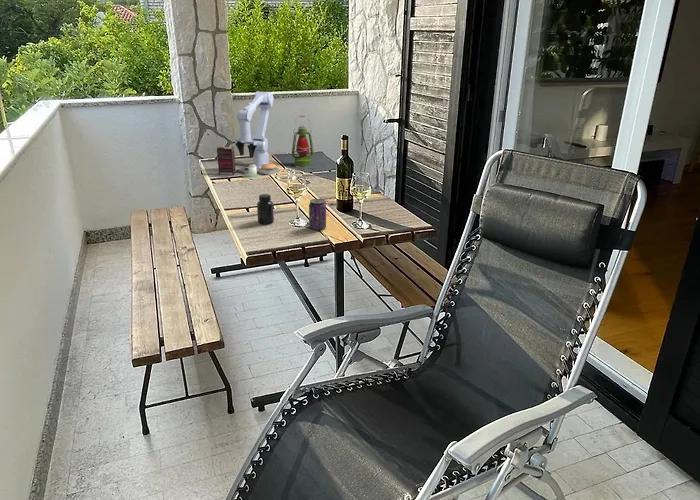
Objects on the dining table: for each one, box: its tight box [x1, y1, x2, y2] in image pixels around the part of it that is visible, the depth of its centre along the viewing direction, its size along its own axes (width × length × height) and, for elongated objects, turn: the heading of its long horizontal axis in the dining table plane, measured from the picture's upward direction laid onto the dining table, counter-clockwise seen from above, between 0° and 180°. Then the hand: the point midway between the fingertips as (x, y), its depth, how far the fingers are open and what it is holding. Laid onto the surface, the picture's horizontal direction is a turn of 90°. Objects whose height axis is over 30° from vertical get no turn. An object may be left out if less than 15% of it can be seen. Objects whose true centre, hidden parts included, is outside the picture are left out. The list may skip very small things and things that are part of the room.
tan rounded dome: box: [261, 163, 277, 169], centre depth 303 cm, size 8×8×4 cm
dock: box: [236, 167, 259, 176], centre depth 305 cm, size 10×10×2 cm
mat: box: [241, 174, 265, 181], centre depth 296 cm, size 9×9×1 cm
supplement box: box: [216, 146, 237, 177], centre depth 295 cm, size 9×5×16 cm, turn 84°
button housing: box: [258, 167, 280, 176], centre depth 304 cm, size 8×8×3 cm
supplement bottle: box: [256, 193, 275, 226], centre depth 226 cm, size 7×7×12 cm
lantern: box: [291, 115, 315, 167], centre depth 316 cm, size 14×11×30 cm
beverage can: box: [308, 198, 327, 231], centre depth 221 cm, size 7×7×12 cm
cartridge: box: [247, 163, 258, 177], centre depth 294 cm, size 4×4×6 cm
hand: (246, 156), depth 302 cm, fingers open, 7 cm apart
